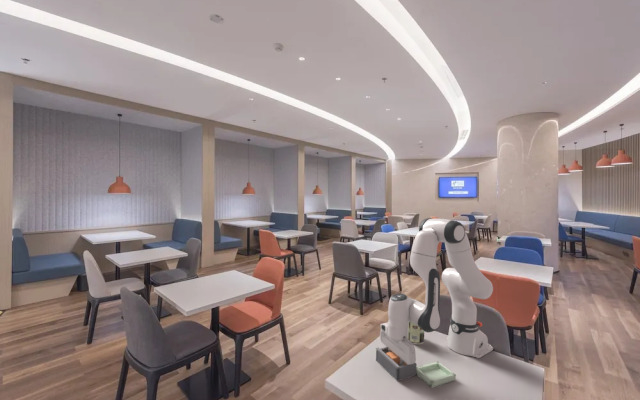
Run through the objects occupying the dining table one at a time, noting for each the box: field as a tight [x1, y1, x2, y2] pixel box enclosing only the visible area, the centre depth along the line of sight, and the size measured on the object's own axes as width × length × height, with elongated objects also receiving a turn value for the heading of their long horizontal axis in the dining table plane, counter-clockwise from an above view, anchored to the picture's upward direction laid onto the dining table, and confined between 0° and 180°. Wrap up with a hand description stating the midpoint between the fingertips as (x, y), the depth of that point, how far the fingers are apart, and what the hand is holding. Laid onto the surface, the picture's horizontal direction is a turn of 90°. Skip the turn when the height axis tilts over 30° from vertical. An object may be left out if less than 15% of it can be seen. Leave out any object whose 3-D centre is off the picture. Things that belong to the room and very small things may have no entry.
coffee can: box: [407, 322, 425, 346], centre depth 147 cm, size 10×10×14 cm
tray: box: [415, 361, 457, 389], centre depth 117 cm, size 13×10×2 cm
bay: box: [375, 346, 418, 382], centre depth 122 cm, size 10×15×6 cm
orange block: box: [386, 352, 407, 365], centre depth 123 cm, size 8×4×6 cm, turn 113°
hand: (396, 362), depth 123 cm, fingers closed on orange block, 4 cm apart
